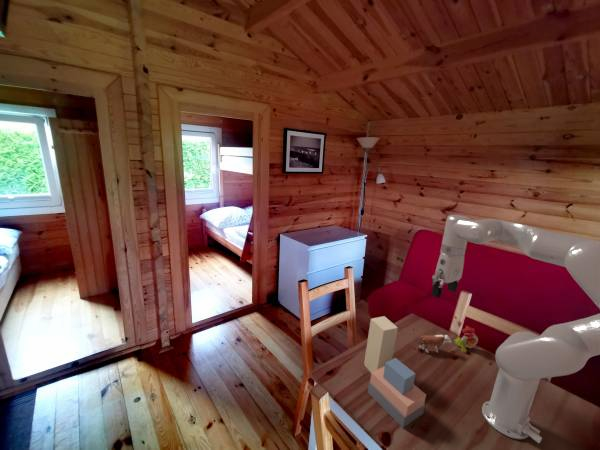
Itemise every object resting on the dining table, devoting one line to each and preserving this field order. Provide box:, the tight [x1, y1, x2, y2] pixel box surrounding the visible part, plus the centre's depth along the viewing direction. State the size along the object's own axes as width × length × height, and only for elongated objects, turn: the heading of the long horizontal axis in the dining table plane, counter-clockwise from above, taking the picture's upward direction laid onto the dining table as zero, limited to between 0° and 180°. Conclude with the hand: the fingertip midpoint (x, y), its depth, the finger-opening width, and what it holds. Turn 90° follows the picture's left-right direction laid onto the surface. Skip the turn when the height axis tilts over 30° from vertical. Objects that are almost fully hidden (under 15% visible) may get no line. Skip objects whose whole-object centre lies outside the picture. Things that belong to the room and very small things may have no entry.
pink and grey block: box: [367, 366, 427, 429], centre depth 92 cm, size 15×10×8 cm, turn 31°
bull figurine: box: [418, 333, 453, 354], centre depth 119 cm, size 4×13×8 cm, turn 89°
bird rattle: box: [453, 325, 479, 353], centre depth 122 cm, size 6×11×9 cm
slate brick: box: [383, 357, 416, 395], centre depth 90 cm, size 8×5×6 cm, turn 31°
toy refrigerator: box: [363, 315, 399, 374], centre depth 104 cm, size 8×7×21 cm
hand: (443, 293), depth 101 cm, fingers open, 9 cm apart
